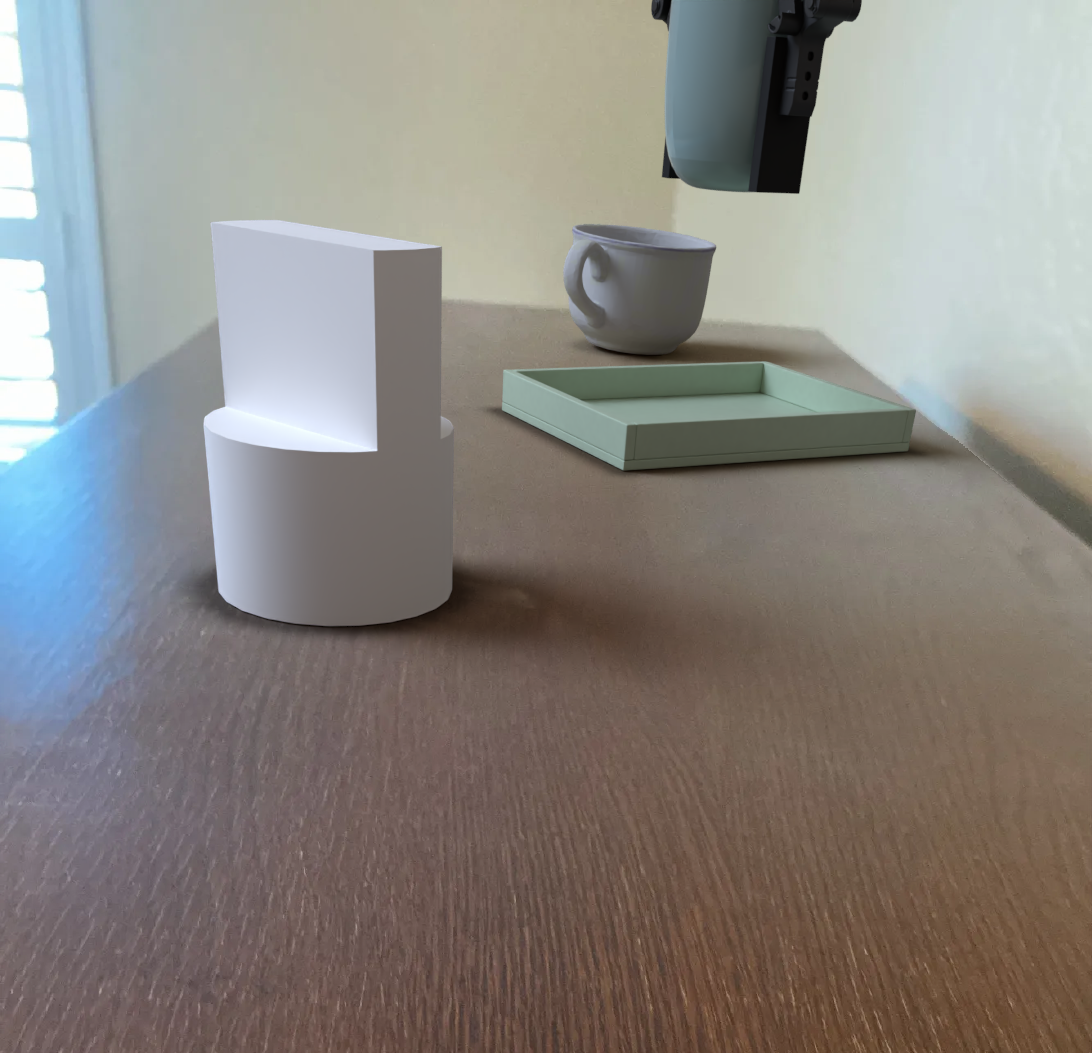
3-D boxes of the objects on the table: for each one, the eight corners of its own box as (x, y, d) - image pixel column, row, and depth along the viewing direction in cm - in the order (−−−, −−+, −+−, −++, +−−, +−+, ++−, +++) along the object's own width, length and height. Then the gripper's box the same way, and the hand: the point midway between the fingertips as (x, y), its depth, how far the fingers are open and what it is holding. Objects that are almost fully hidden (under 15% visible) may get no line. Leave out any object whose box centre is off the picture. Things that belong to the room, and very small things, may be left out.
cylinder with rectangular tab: (499, 591, 51) (510, 244, 45) (322, 644, 46) (304, 255, 39) (347, 538, 56) (337, 217, 49) (170, 580, 50) (130, 223, 44)
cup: (784, 199, 67) (818, -47, 61) (638, 186, 69) (658, -54, 63) (809, 192, 73) (842, -32, 67) (674, 181, 75) (696, -39, 69)
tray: (761, 398, 87) (766, 361, 86) (908, 451, 76) (916, 409, 75) (501, 410, 80) (502, 369, 78) (623, 471, 69) (626, 424, 67)
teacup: (638, 333, 108) (647, 222, 103) (733, 356, 101) (747, 238, 96) (505, 344, 100) (509, 224, 95) (598, 369, 93) (607, 241, 89)
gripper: (609, -375, 64) (577, 168, 77) (877, -499, 49) (782, 202, 62) (736, -345, 67) (685, 172, 80) (1026, -454, 52) (906, 205, 65)
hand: (727, 184), depth 71 cm, fingers closed on cup, 8 cm apart
